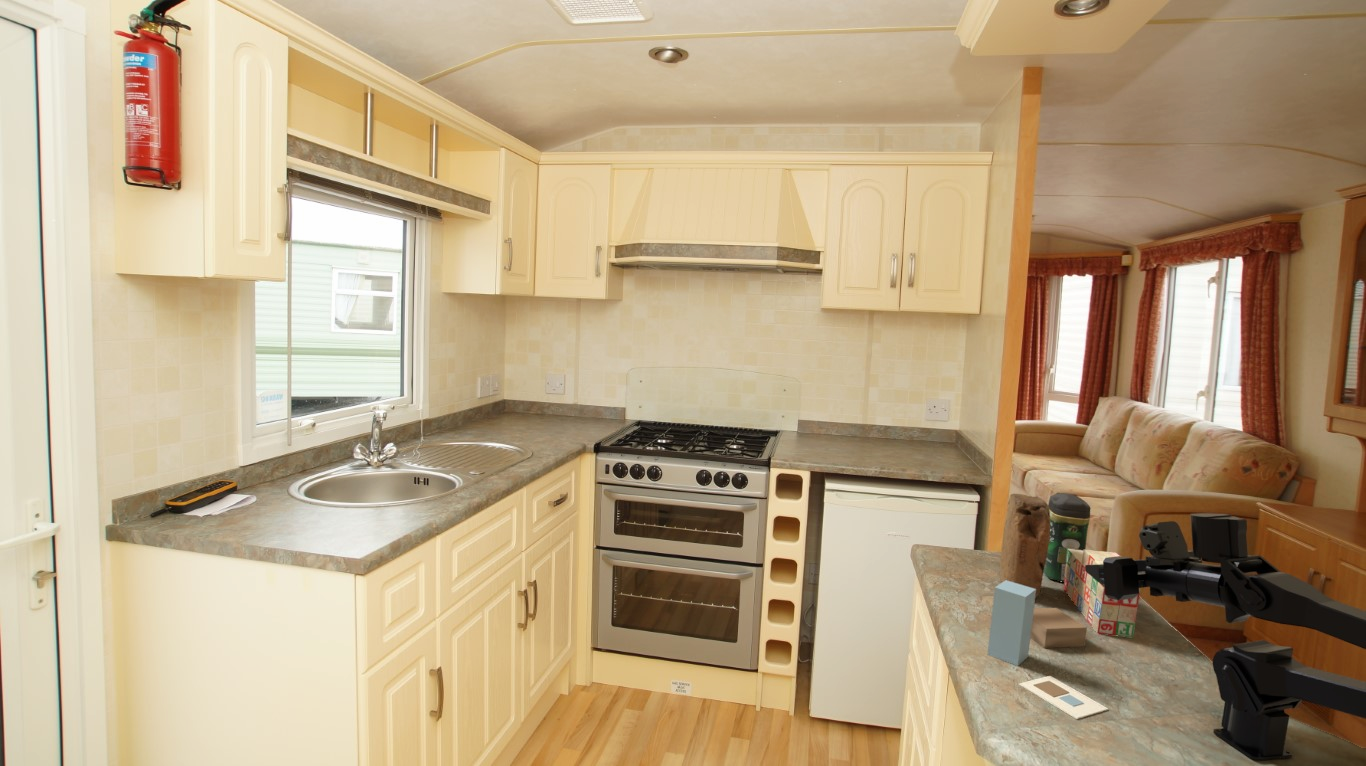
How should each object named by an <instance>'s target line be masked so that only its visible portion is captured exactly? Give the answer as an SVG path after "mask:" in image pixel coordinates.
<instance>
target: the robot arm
mask: <svg viewBox="0 0 1366 766" xmlns="http://www.w3.org/2000/svg"><path fill="white" fill-rule="evenodd" d="M1189 515H1190V527H1191V528H1190V529H1191V531H1190V532H1191V542H1192V545H1191V546H1192V550H1188V548H1189V547H1188V543H1187V542H1186V539H1185V536H1184V534H1183V531H1182V529H1181V527H1180V525H1179V524H1178V522H1176V521H1175V520H1170V521H1169V520H1168V521H1159V522H1155V523H1152V524H1147V525H1146V524H1145V525H1144V526H1142V527H1140V532H1139V535H1138V537H1139V539H1140V543H1141V545H1142V546H1143V549H1144V550H1146V551H1148V552H1149V553H1150V555H1147V556H1145V559H1133V557H1128V556H1121V555H1119V556H1117V557H1108V558H1105V559H1104V561H1103V564H1094V565H1085V571H1086V572H1087V573H1088V574H1089V575H1091V576H1092V577H1093V578H1094V579H1095V580H1097V581H1098V582H1099V583H1100V584H1101V585H1102V586H1103V587H1104V588H1105V595H1106V596H1107V597H1108V598H1110V599H1115V600H1125V599H1132V598H1135V597H1136V596H1137V595H1138V594H1139V588H1140V589H1141V588H1149V596H1153V597H1163V596H1169V597H1172V598H1175V601H1177V602H1180V603H1185V602H1192V601H1193V602H1197V603H1203V604H1207V605H1212V606H1217V607H1221V608H1224V609H1225V622H1227V623H1228V624H1234V623H1238V622H1239V623H1240V622H1245V621H1247V620H1248V619H1249V618H1250V617H1253V618H1255V619H1257V620H1258V619H1259V620H1263V621H1268V622H1272V623H1276V624H1280V625H1287V626H1293V627H1302V628H1307V629H1311V630H1315V631H1318V632H1320V633H1323V634H1325V635H1328V636H1330V637H1333V638H1336V639H1338V640H1340V641H1343V642H1345V643H1349V644H1351V645H1353V646H1357V647H1358V648H1361V649H1363V650H1366V610H1363V609H1360V608H1357V607H1355V606H1352V605H1348V604H1346V603H1343V602H1340V601H1337V600H1335V599H1332V598H1331V597H1329V596H1327V595H1326V594H1324V593H1323V592H1321V590H1319V588H1317V587H1315V586H1314V585H1313V584H1310V583H1308V582H1306V581H1304V580H1302V579H1300V578H1298V577H1296V576H1294V575H1292V574H1290V573H1287V572H1283V571H1281V570H1279V569H1278V568H1277V567H1275V566H1274V565H1273V564H1272V563H1271V562H1270V561H1268V560H1267V559H1265V557H1263V556H1262V555H1260V554H1256V555H1255V554H1254V555H1250V554H1248V553H1249V552H1248V541H1247V532H1248V522H1247V519H1246V518H1240V517H1237V516H1233V515H1231V514H1226V513H1210V512H1209V513H1207V512H1206V513H1203V512H1202V513H1190V514H1189ZM1203 562H1207V563H1203ZM1210 563H1212V564H1210ZM1214 563H1215V564H1214ZM1216 564H1217V565H1216ZM1218 564H1220V565H1218ZM1252 573H1253V574H1252ZM1255 573H1256V574H1255ZM1247 574H1248V575H1247ZM1293 653H1294V648H1293V647H1291V646H1283V645H1276V644H1273V643H1270V642H1269V641H1267V640H1265V639H1261V640H1255V641H1248V642H1242V643H1236V644H1233V645H1232V647H1226V648H1220V649H1219V650H1218V651H1216V652H1215V653H1214V655H1213V658H1212V668H1213V671H1214V674H1215V677H1216V680H1217V681H1216V682H1217V686H1218V690H1219V695H1220V699H1221V701H1224V703H1223V704H1224V705H1223V706H1224V707H1223V711H1222V716H1221V717H1222V718H1221V728H1214V729H1213V731H1212V733H1213V734H1214V735H1216V736H1217V737H1218V738H1220V739H1222V740H1223V741H1225V742H1226V743H1227V744H1229V745H1230V746H1232V747H1234V748H1235V749H1237V750H1238V751H1239V752H1241V753H1242V754H1244V755H1245V756H1246V757H1249V759H1250V760H1251V759H1252V760H1253V761H1254V760H1255V761H1263V760H1265V761H1266V760H1276V759H1277V760H1278V759H1289V758H1290V759H1291V758H1293V753H1292V751H1289V750H1288V749H1287V748H1286V747H1285V745H1286V739H1287V732H1288V726H1289V720H1290V715H1289V714H1288V713H1286V712H1285V710H1289V709H1296V708H1298V706H1299V705H1300V704H1301V703H1302V701H1304V702H1308V703H1310V704H1315V705H1318V706H1321V707H1324V708H1327V709H1331V710H1335V711H1338V712H1341V713H1343V714H1348V715H1351V716H1354V717H1357V718H1361V719H1365V720H1366V681H1365V680H1361V679H1358V678H1357V679H1356V678H1353V677H1348V676H1345V675H1342V674H1338V673H1334V672H1330V671H1325V670H1322V669H1317V668H1315V667H1310V666H1307V665H1304V664H1303V663H1301V662H1299V661H1298V660H1296V659H1295V658H1293Z"/></svg>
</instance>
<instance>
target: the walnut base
mask: <svg viewBox="0 0 1366 766" xmlns="http://www.w3.org/2000/svg"><path fill="white" fill-rule="evenodd" d="M1087 631H1088V627H1087V626H1085V625H1084V624H1082V623H1081V622H1079V621H1078V620H1076V619H1074V618H1073V617H1072V616H1070V615H1068V614H1067V613H1065V612H1064V611H1062V610H1060V609H1059V608H1058V607H1049V608H1048V607H1047V608H1046V607H1045V608H1043V607H1041V608H1034V611H1033V620H1032V628H1031V637H1030V639H1032V640H1033V641H1035V642H1036V643H1037V644H1039V645H1040V646H1041V647H1043V648H1044V649H1046V648H1047V649H1049V648H1071V647H1073V648H1075V647H1085V645H1086V638H1087Z"/></svg>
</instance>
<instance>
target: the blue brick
mask: <svg viewBox="0 0 1366 766" xmlns="http://www.w3.org/2000/svg"><path fill="white" fill-rule="evenodd" d="M1035 594H1036V589H1034V588H1030V587H1027V586H1024V585H1020V584H1017V583H1014V582H1010V581H1007V580H1005V581H1004V582H1002V583H999V584H997V585H996V586H995V587H994V592H993V601H992V609H991V620H990V628H989V629H990V630H989V637H988V638H989V639H988V646H987V656H990V657H993V658H996V659H998V660H1000V661H1004V662H1007V663H1009V664H1011V665H1014V666H1016V665H1017V666H1020V665H1021V664H1022V663H1023V662H1024V661H1025V660H1026V659H1027V658H1028V657H1029V652H1030V643H1031V638H1030V637H1031V628H1032V620H1033V611H1034V609H1035V601H1036V598H1035ZM1024 659H1025V660H1024Z"/></svg>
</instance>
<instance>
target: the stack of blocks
mask: <svg viewBox="0 0 1366 766" xmlns="http://www.w3.org/2000/svg"><path fill="white" fill-rule="evenodd" d="M1117 556H1120V555H1119V554H1118V553H1117V552H1111V551H1102V550H1101V551H1100V550H1092V549H1085V550H1074V549H1067V555H1066V568H1065V579H1064V583H1063V589H1064V590H1065V591H1066V592H1065V591H1064V590H1063V591H1064V592H1065V594H1068V595H1067V597H1068V596H1069V597H1070V598H1071V599H1070V598H1069V597H1068V598H1069V599H1070V600H1071V602H1072V601H1073V602H1074V603H1073V602H1072V603H1073V604H1074V606H1075V605H1076V606H1077V607H1078V608H1077V607H1076V606H1075V607H1076V608H1077V610H1078V611H1079V612H1080V611H1081V612H1082V613H1081V612H1080V613H1081V614H1082V615H1083V616H1085V617H1084V618H1085V619H1086V621H1087V622H1088V624H1089V623H1090V624H1091V625H1090V624H1089V625H1090V626H1091V628H1092V627H1093V628H1092V629H1093V631H1094V632H1095V631H1096V632H1095V633H1096V634H1097V633H1099V634H1098V635H1104V634H1108V635H1107V636H1111V635H1118V636H1117V637H1120V636H1125V637H1124V638H1127V637H1132V638H1131V639H1134V633H1135V628H1136V619H1137V612H1138V607H1139V602H1140V595H1141V588H1139V594H1138V595H1137V596H1136V597H1135V598H1132V599H1125V600H1115V599H1110V598H1108V597H1107V596H1106V595H1105V588H1104V587H1103V586H1102V585H1101V584H1100V583H1099V582H1098V581H1097V580H1095V579H1094V578H1093V577H1092V576H1091V575H1089V574H1088V573H1087V572H1086V571H1085V565H1094V564H1103V561H1104V559H1105V558H1108V557H1117Z"/></svg>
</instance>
